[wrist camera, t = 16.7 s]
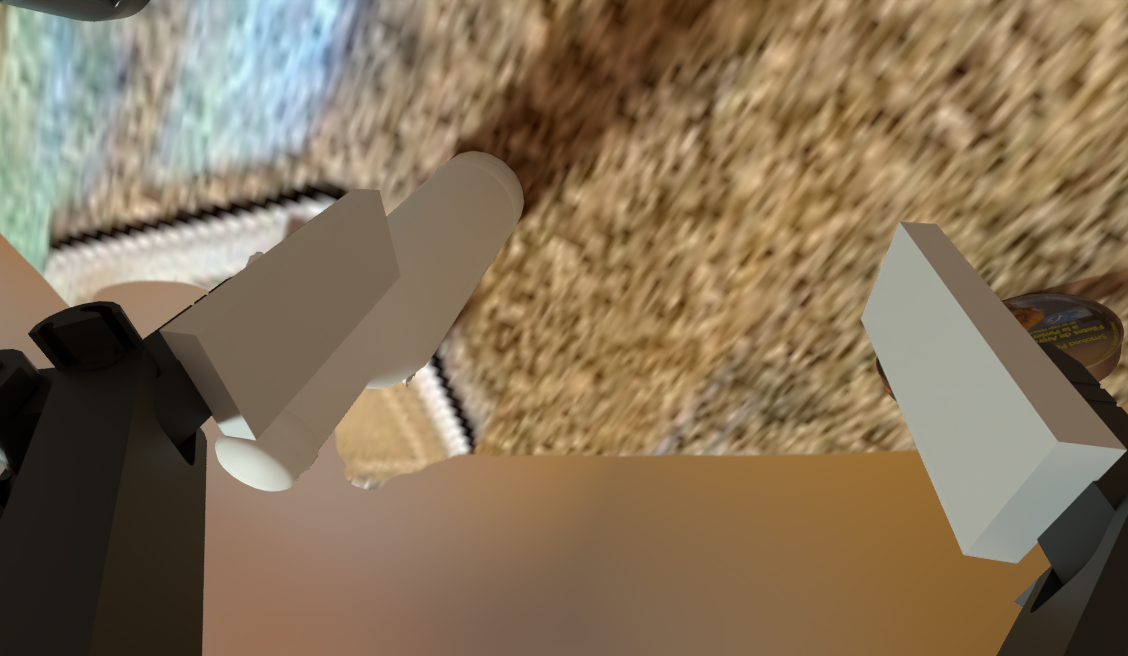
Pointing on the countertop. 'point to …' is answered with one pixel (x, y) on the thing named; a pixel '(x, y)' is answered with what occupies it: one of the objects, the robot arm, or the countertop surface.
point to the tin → (1066, 329)
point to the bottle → (394, 313)
